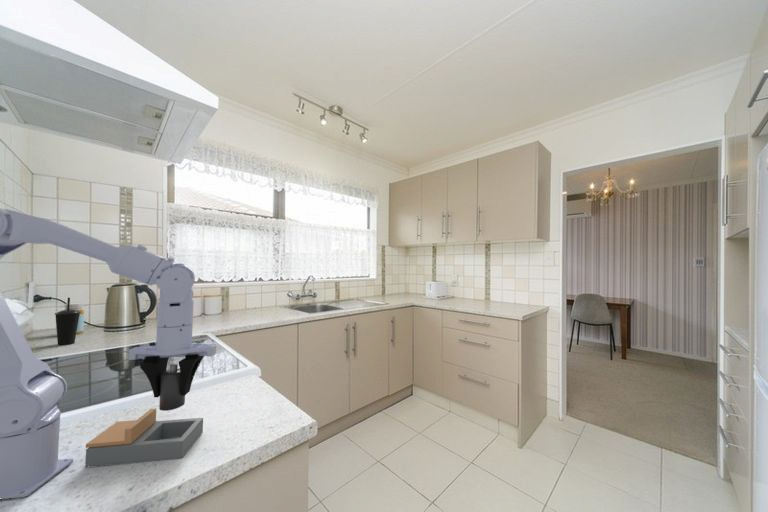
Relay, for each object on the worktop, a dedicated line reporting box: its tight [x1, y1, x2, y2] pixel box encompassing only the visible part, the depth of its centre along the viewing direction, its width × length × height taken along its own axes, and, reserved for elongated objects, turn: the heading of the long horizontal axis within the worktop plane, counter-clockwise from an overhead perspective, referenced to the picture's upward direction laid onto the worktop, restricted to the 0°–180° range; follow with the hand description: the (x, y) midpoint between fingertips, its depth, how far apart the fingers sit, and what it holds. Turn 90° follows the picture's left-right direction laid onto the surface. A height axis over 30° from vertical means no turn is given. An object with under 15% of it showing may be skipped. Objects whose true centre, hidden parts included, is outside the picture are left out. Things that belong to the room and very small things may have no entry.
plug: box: [158, 362, 186, 412], centre depth 55 cm, size 4×4×8 cm
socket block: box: [84, 417, 204, 468], centre depth 53 cm, size 15×8×3 cm, turn 100°
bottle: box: [64, 302, 85, 335], centre depth 139 cm, size 7×7×15 cm
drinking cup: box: [54, 297, 81, 346], centre depth 122 cm, size 8×8×20 cm
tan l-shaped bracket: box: [85, 408, 157, 449], centre depth 53 cm, size 7×7×3 cm
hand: (172, 394), depth 55 cm, fingers closed on plug, 4 cm apart
